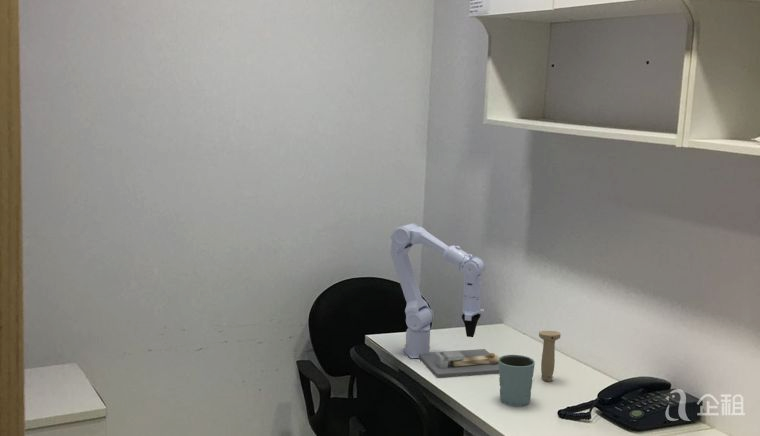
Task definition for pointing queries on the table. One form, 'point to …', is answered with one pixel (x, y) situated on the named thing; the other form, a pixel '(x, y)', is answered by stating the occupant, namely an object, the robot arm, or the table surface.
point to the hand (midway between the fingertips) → (470, 336)
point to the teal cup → (515, 379)
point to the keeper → (447, 358)
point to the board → (460, 370)
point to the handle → (548, 354)
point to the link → (476, 360)
